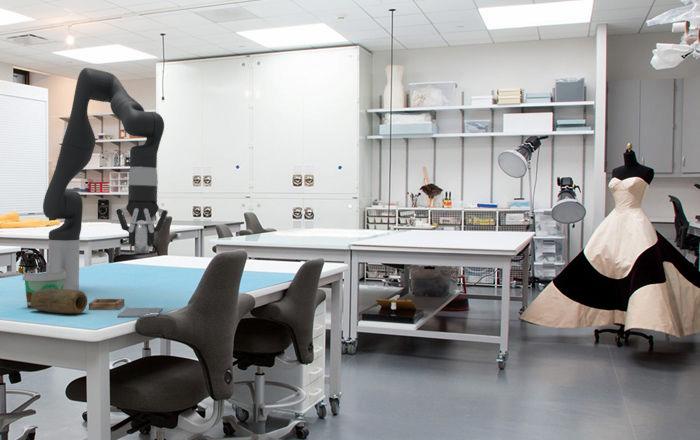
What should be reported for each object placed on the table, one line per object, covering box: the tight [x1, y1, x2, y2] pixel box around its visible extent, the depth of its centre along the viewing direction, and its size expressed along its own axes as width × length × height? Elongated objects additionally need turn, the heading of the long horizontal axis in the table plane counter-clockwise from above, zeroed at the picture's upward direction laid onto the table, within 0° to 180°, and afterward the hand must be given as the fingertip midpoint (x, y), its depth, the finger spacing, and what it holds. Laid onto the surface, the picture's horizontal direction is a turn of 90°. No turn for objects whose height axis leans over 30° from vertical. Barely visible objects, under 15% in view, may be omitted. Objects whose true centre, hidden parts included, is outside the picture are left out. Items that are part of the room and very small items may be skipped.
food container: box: [22, 269, 67, 309], centre depth 175 cm, size 12×6×10 cm, turn 148°
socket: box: [88, 298, 125, 311], centre depth 177 cm, size 8×8×2 cm
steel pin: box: [133, 222, 150, 254], centre depth 169 cm, size 4×4×8 cm
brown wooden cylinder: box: [30, 289, 88, 315], centre depth 167 cm, size 15×7×7 cm, turn 77°
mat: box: [116, 307, 163, 318], centre depth 170 cm, size 10×12×1 cm
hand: (141, 245), depth 169 cm, fingers closed on steel pin, 4 cm apart
